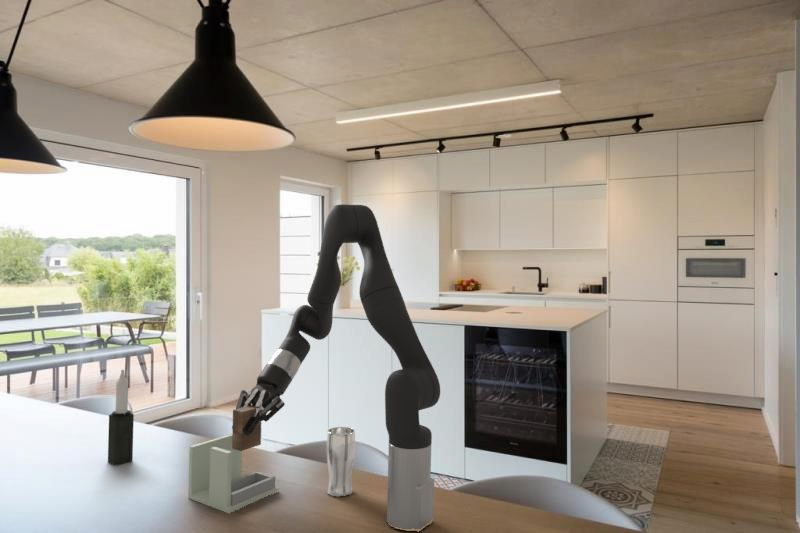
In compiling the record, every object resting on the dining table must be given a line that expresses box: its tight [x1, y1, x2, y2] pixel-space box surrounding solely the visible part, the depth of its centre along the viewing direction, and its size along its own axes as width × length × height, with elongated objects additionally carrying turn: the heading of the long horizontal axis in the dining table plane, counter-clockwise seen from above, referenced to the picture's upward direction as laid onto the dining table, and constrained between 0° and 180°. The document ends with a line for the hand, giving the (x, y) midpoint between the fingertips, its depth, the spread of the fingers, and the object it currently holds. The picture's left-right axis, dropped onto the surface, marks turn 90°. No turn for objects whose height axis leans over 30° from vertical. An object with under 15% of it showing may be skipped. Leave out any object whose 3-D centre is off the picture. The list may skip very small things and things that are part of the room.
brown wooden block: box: [231, 404, 262, 452], centre depth 134 cm, size 3×6×9 cm, turn 147°
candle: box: [107, 369, 135, 466], centre depth 155 cm, size 5×5×25 cm
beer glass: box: [325, 426, 356, 496], centre depth 138 cm, size 7×7×15 cm
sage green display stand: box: [187, 433, 280, 514], centre depth 135 cm, size 14×15×13 cm
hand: (240, 431), depth 132 cm, fingers closed on brown wooden block, 3 cm apart
